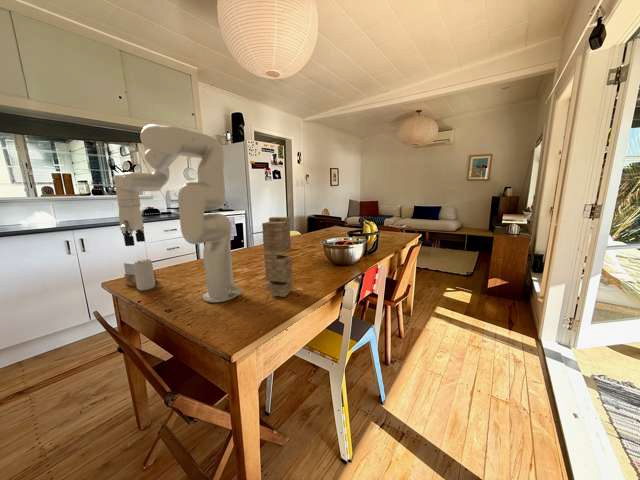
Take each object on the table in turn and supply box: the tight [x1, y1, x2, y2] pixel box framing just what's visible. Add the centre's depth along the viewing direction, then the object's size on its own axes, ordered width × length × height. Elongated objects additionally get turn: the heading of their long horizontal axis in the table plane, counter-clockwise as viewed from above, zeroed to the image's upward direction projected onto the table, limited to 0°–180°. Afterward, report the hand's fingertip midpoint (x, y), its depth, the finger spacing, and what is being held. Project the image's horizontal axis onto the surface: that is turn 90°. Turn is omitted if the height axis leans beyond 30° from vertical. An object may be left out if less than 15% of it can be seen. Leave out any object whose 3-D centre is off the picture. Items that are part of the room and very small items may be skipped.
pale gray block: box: [123, 258, 145, 275], centre depth 112 cm, size 7×7×5 cm
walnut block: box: [123, 269, 157, 287], centre depth 113 cm, size 8×8×5 cm
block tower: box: [261, 216, 294, 298], centre depth 96 cm, size 8×8×29 cm
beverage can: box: [134, 258, 156, 292], centre depth 105 cm, size 6×6×12 cm
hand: (135, 243), depth 110 cm, fingers open, 9 cm apart
